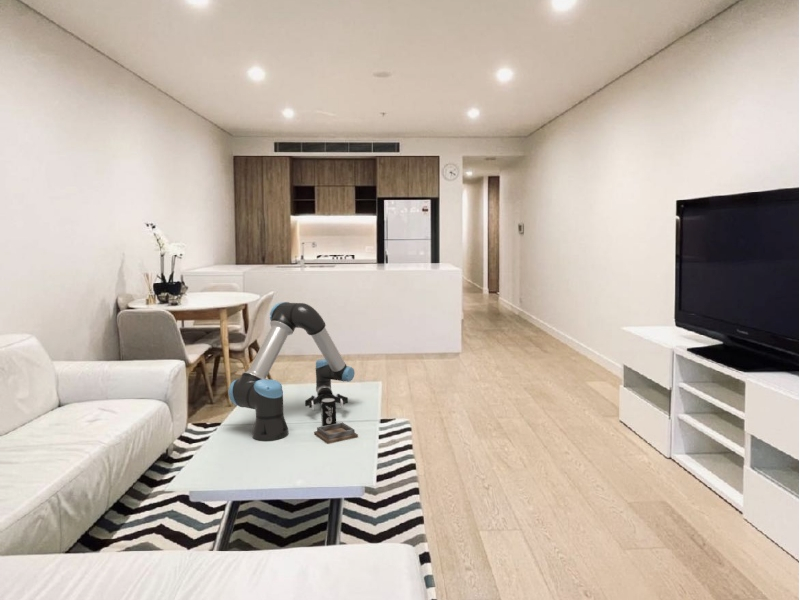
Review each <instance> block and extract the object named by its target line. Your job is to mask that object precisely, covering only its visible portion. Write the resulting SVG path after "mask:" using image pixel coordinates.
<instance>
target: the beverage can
mask: <svg viewBox="0 0 800 600" xmlns="http://www.w3.org/2000/svg"><path fill="white" fill-rule="evenodd" d="M334 400H335V399H333V398H326V399H323V400H322V402H321V403H320V415H321V427H322V426H327V425H332V424H337V402H335V401H334Z"/></svg>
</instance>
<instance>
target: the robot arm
mask: <svg viewBox="0 0 800 600" xmlns="http://www.w3.org/2000/svg"><path fill="white" fill-rule="evenodd" d="M269 321H270V322H269V324H270V329H269V331H268V332H267V335H266V336H265V338H264V340H263V342H262V344H261V346H260V347H259V349H258V352H257V353H256V355H255V357H254V359H253V361H252V363H251V364H250V367H249V368H248V370H247V371H244V372H243V373H242V374H241V376H240V377H239V378H237V379H235V380H232V382H231V383H230V385H229V387H228V396H229V397H228V399H229V400H230V402H231V403H232V404H233V405H235V406H237V407H240V408H247V409H251V410H255V422H254V425H253V428H252V439H254V440H257V441H262V442H263V441H265V442H266V441H268V442H269V441H276V440H281V439H283V438H285V437H287V436H289V427H288V426H289V425H288V423H287V422H286V419H285V417H284V414H285V413H284V391H283V386H282V383H281V382H280V381H278V380H274V379H267V376H268V375H269V373H270V371H271V369H272V367H273V365H274V363H275V362H276V360H277V357H278V356H279V353H280V352H281V350H282V347H283V346H284V344H285V342H286V340H287V338H288V337H289V336H291V335H293V333H294V332H295V330H296V329H297V328H298V329H302V330H304V331H305V332H306V334H307V335H308V336H311V337H312V339H313V341H314V343H315V344H316V346H317V348H318V350H319V351H320V353H321V354H322V356H323V359H318V360H316V362H315V380H316V381H315V382H316V384H315V385H316V387H315V391H316V396H315V395H311V396H310V397H309V398H307V399H306V400H304V405H305V407H309V409H310V408H311V410H312V411H314V410H315V405H318V404H321V402H322V400H323V399H326V398H333V399H335V400H334V401H335V402H336V404H337V403H338V404H339V405H340V407H341V408H342V409H343V408H344V405H346V404H348V403H349V398H348V397H347V396H344V395H341V394H340V393H336V395H334V394H333V391H332V381H339V382H344V383H345V382H352V381H353V379H354V377H355V373H356V372H355V369H354V367H352V366H347V364H346V361H345V360H344V359H343V357H342V354H341V353H340V352H339V350H338V348H337V346H336V344H335V342H334V341H333V339H332V337H331V336H330V334H329V332H328V330H327V329H326V326H327V325H326V322H325V320H324V319H323V316H321V315H320V313H319V312H318V311H317V310H316V309H315V308H314V307H313V306H311V305H309V304H308V303H304V302H289V301H283V302H277V303H276V304H275V305H273V307H272V308H271V310H270V313H269Z"/></svg>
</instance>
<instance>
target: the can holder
mask: <svg viewBox="0 0 800 600" xmlns="http://www.w3.org/2000/svg"><path fill="white" fill-rule="evenodd" d="M355 431H356V430H355V429H354V428H352V427H351V426H349V425H348V424H346V423H344V422H338V423H337V422H336V424H332V425H327V426H322V425H321V426H317V427H316V431H313V433H314V436H316V437H317V438H319V439H320V440H322V442H324V443H325V444H328V445H329V444H332V443H333V444H334V443H337V442H343V441H346V440H347V441H348V440H351V439H352V440H353V439H357V438H359V435H358V434H357V433H356V432H355Z"/></svg>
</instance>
